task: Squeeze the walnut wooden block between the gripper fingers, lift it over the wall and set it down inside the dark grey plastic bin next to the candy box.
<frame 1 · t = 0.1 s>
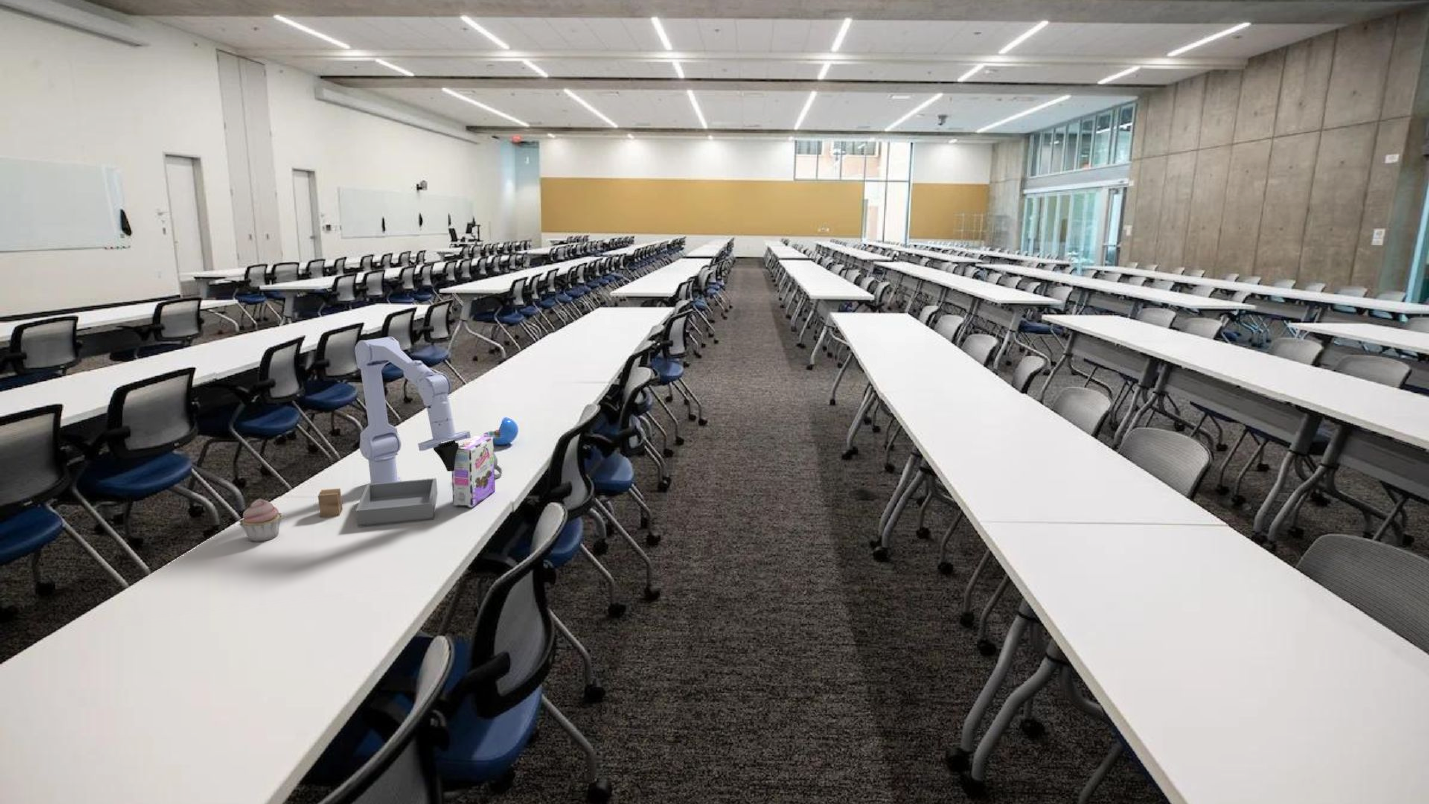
hand: (451, 470, 197), 11 cm above the table, tool pointing down, fingers closed
cupcake: (264, 537, 183), on the table
walnut block: (331, 513, 198), on the table
grey bin: (399, 509, 200), on the table
ceramic mug: (485, 476, 227), on the table
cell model: (501, 444, 258), on the table
candy box: (474, 499, 208), on the table, touching gripper
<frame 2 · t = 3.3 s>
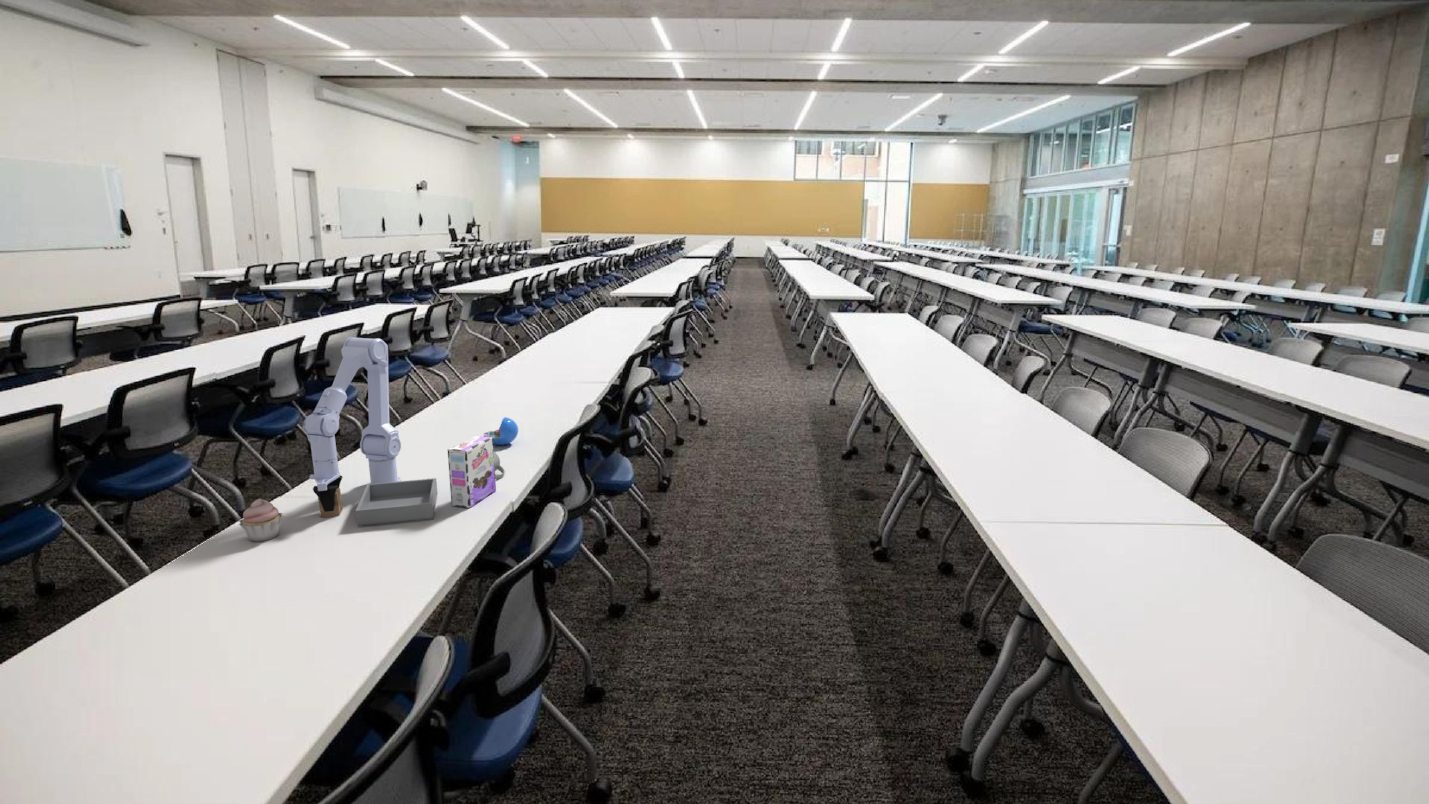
hand: (331, 507, 197), 2 cm above the table, tool pointing down, fingers closed on walnut block, 4 cm apart
walnut block: (331, 513, 198), on the table, touching gripper
candy box: (474, 499, 209), on the table
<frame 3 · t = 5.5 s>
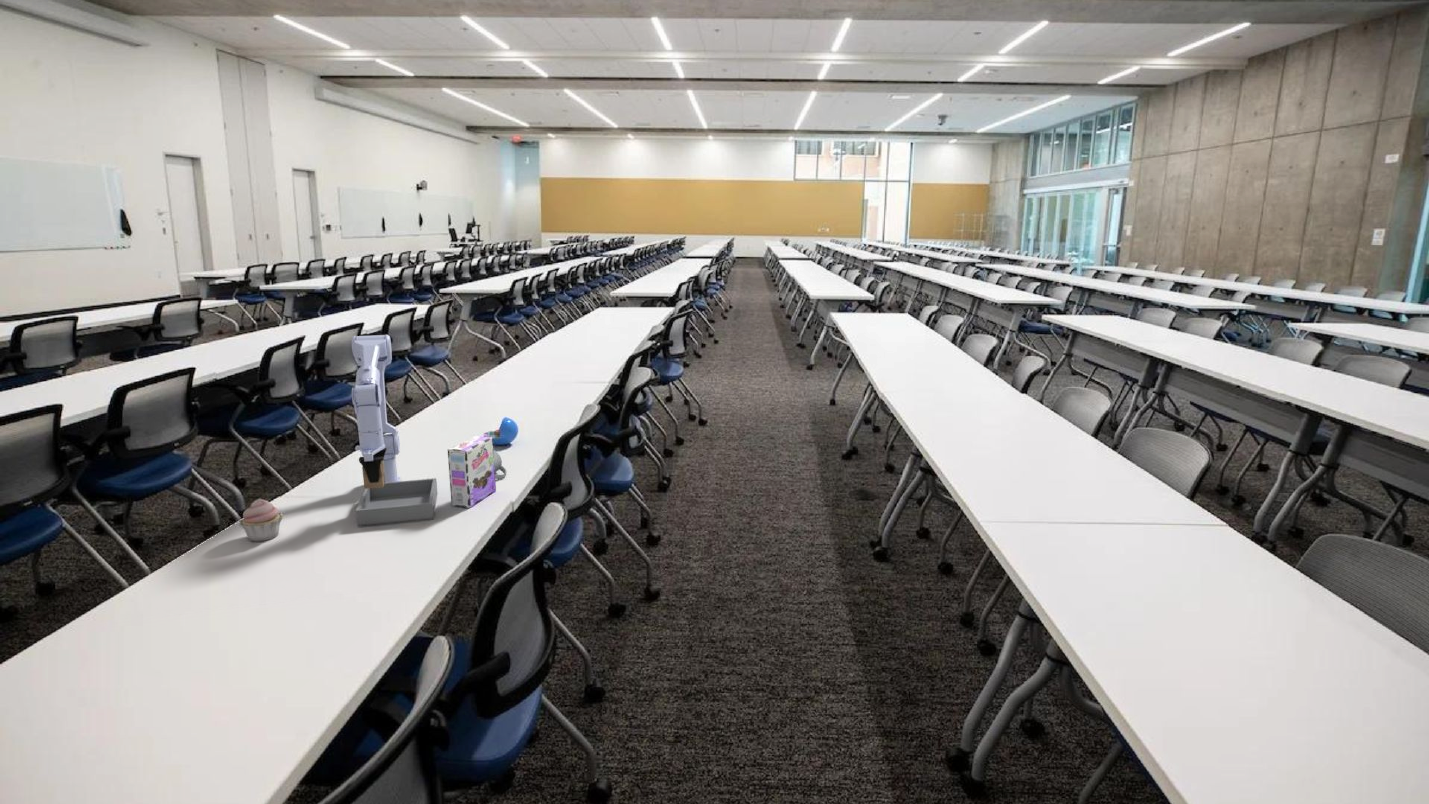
hand: (375, 479, 197), 9 cm above the table, tool pointing down, fingers closed on walnut block, 4 cm apart
walnut block: (375, 485, 198), point 7 cm above the table, touching gripper
when the fingers open (4 cm above the table, at t = 7.7 s): walnut block drops 2 cm, resting on grey bin.
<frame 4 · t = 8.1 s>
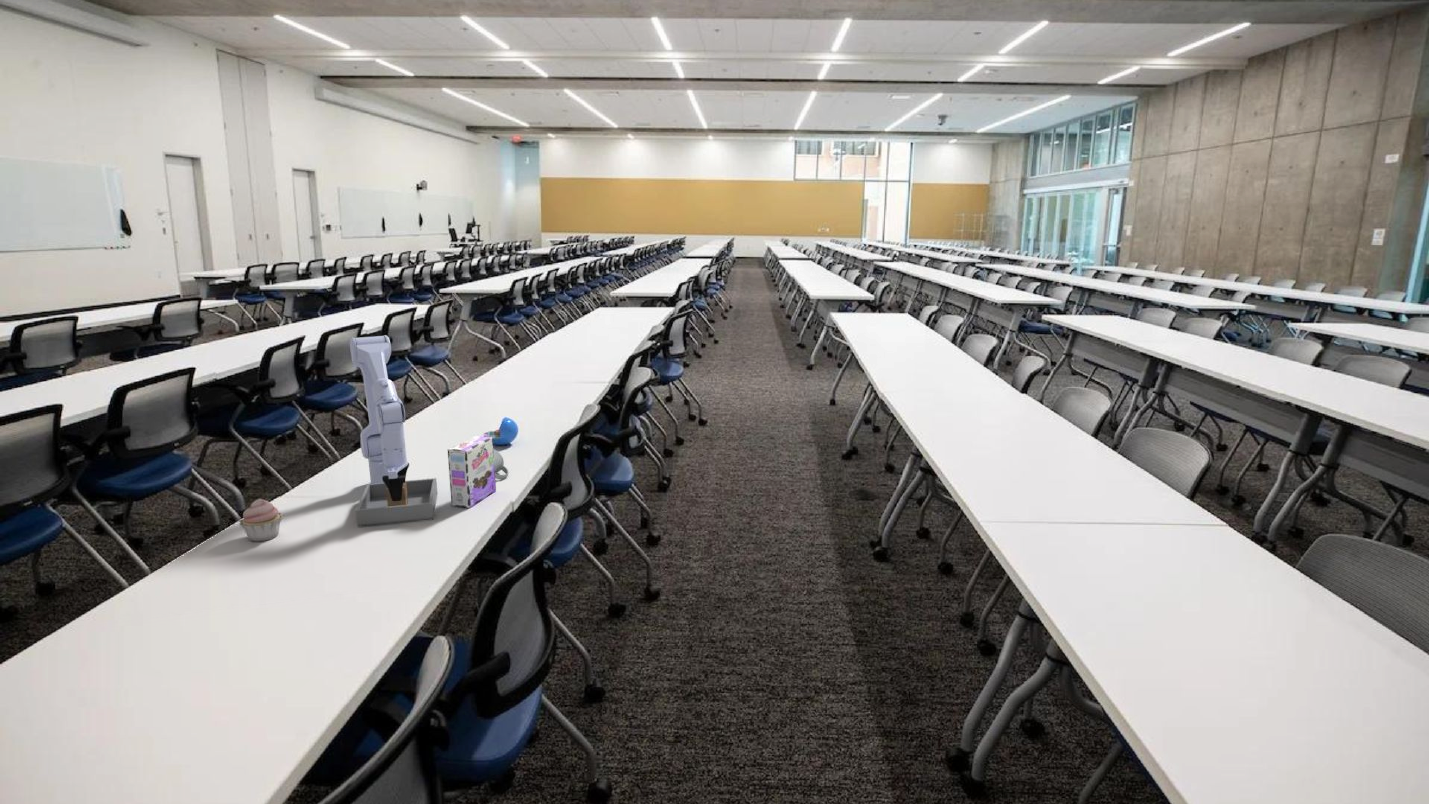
hand: (398, 495, 200), 4 cm above the table, tool pointing down, fingers open, 7 cm apart
walnut block: (398, 507, 200), point 1 cm above the table, touching grey bin
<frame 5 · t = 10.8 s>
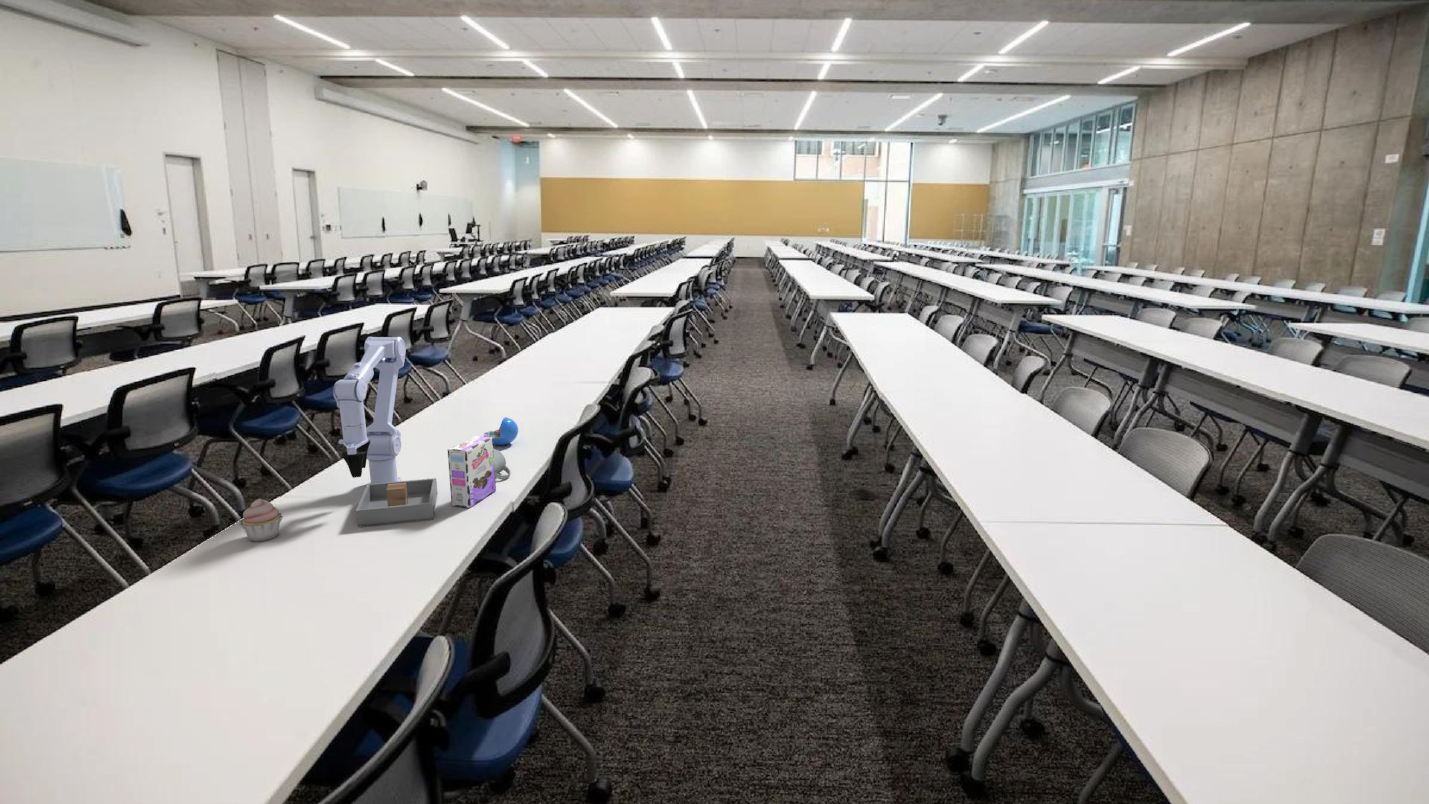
hand: (359, 472, 201), 9 cm above the table, tool pointing down, fingers open, 7 cm apart
at the end: walnut block inside the target area on the grey bin (0.3 cm from its centre), point 0.6 cm above the grey bin's base; the gripper is holding nothing; walnut block tilted 0° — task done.
